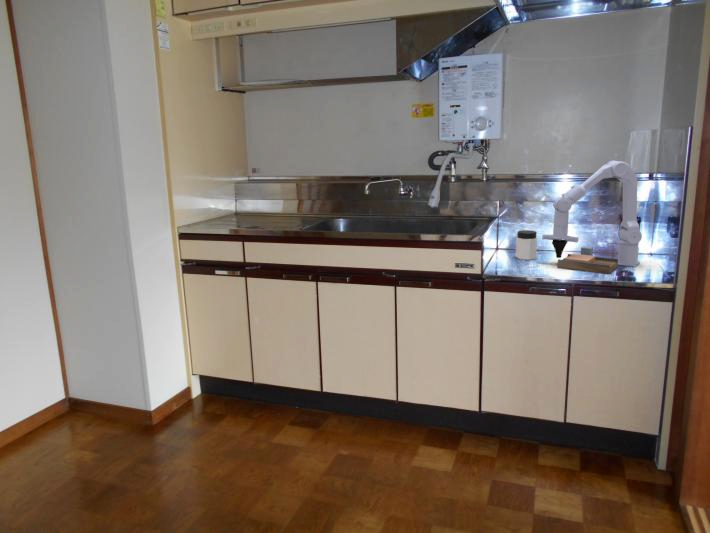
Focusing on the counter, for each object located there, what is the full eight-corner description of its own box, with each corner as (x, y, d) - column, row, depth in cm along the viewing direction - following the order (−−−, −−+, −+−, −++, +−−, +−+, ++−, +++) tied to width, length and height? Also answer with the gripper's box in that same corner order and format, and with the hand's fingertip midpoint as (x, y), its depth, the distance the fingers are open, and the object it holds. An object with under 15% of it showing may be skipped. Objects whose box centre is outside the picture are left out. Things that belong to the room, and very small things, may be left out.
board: (567, 261, 240) (568, 253, 239) (617, 267, 228) (618, 259, 227) (557, 268, 229) (558, 259, 228) (608, 274, 217) (609, 265, 216)
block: (582, 259, 244) (583, 246, 242) (592, 260, 241) (593, 247, 240) (580, 261, 240) (581, 247, 239) (589, 262, 238) (590, 248, 237)
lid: (573, 257, 237) (573, 253, 236) (595, 259, 231) (595, 256, 231) (565, 261, 228) (565, 258, 228) (587, 264, 223) (588, 260, 222)
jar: (525, 255, 255) (526, 229, 252) (539, 258, 248) (541, 231, 245) (511, 257, 250) (513, 231, 247) (526, 260, 243) (527, 234, 241)
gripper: (540, 225, 233) (538, 257, 236) (575, 228, 224) (573, 261, 227) (546, 223, 238) (544, 254, 241) (580, 226, 230) (578, 257, 233)
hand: (558, 257), depth 235 cm, fingers closed
